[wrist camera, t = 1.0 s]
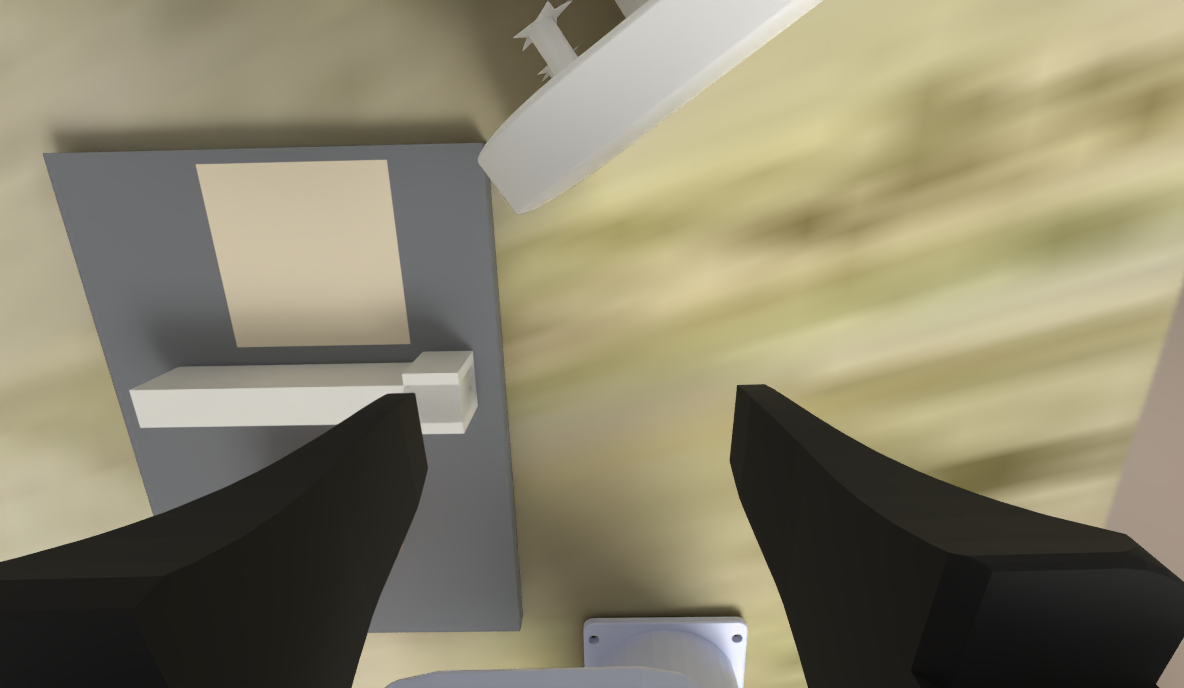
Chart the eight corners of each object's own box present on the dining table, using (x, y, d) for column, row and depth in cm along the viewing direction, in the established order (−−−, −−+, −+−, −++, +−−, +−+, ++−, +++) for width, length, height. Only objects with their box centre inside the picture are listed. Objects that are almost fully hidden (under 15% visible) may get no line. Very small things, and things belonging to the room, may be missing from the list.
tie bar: (477, 405, 23) (464, 433, 20) (190, 410, 23) (143, 438, 21) (472, 350, 22) (457, 372, 20) (176, 356, 22) (125, 378, 20)
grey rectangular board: (522, 614, 27) (520, 631, 26) (204, 618, 28) (190, 634, 27) (487, 143, 21) (481, 142, 20) (67, 154, 21) (42, 153, 20)
